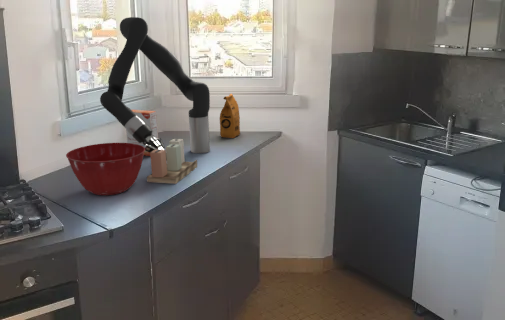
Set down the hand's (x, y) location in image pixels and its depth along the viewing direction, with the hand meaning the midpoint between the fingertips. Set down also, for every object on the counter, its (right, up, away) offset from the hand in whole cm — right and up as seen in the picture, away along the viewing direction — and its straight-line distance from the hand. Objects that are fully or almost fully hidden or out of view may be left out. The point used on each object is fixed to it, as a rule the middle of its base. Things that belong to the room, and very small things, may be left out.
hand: (167, 159), depth 212 cm
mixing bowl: (-19, -12, -16) cm, 28 cm away
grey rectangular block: (+3, -2, +9) cm, 10 cm away
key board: (+2, -6, +1) cm, 7 cm away
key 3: (-2, -6, -7) cm, 10 cm away
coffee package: (+23, +13, +65) cm, 70 cm away
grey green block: (+3, -4, 0) cm, 5 cm away
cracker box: (-17, +2, +33) cm, 37 cm away
